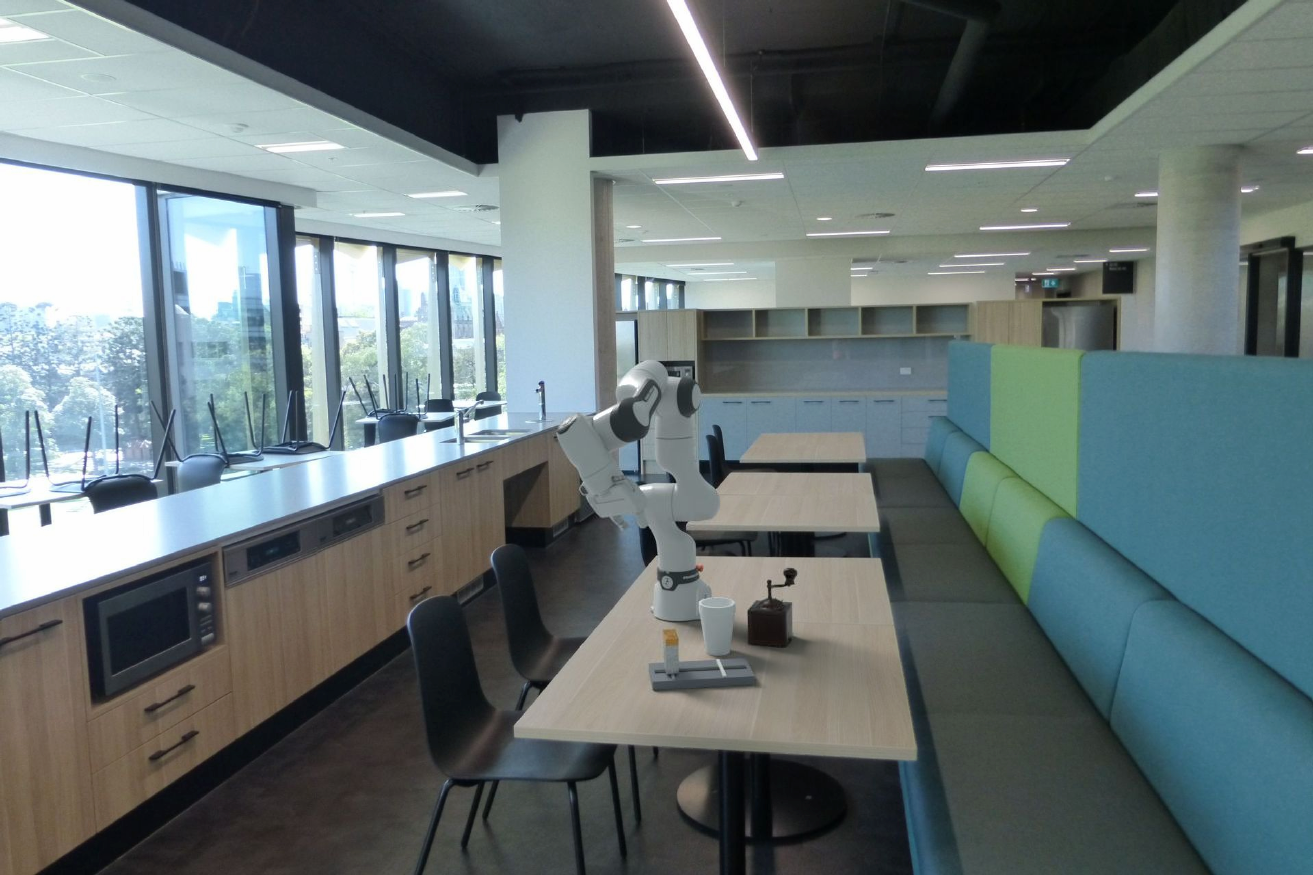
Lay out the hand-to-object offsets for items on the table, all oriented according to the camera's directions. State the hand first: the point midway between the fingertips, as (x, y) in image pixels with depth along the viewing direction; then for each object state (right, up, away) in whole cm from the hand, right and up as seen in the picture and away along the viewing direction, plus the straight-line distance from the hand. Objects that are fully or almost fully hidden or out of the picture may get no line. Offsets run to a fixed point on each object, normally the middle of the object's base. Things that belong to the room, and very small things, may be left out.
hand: (635, 527), depth 211 cm
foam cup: (+21, -34, +23) cm, 46 cm away
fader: (+8, -34, +4) cm, 35 cm away
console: (+16, -36, +5) cm, 40 cm away
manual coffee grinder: (+37, -33, +33) cm, 59 cm away
